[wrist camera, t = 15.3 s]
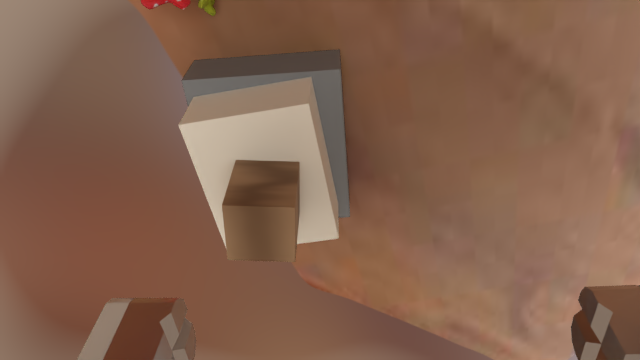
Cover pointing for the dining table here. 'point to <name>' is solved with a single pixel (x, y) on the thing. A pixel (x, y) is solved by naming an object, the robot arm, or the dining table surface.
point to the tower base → (281, 68)
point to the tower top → (264, 147)
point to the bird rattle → (181, 4)
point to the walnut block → (262, 211)
